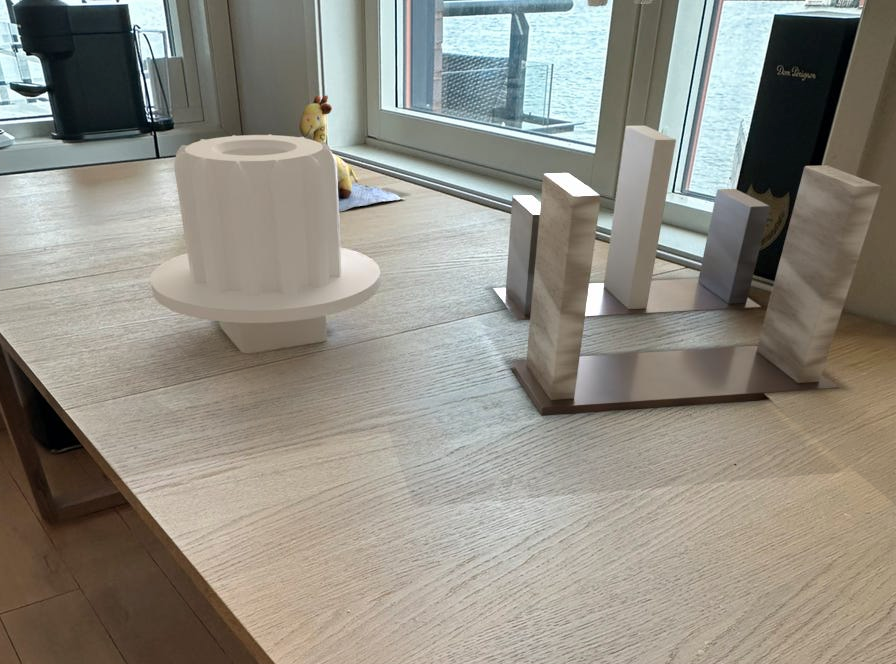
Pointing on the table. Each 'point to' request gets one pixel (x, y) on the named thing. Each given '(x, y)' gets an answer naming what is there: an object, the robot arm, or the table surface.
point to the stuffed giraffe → (340, 160)
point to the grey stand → (716, 287)
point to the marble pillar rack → (700, 370)
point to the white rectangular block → (638, 214)
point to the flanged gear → (262, 242)
